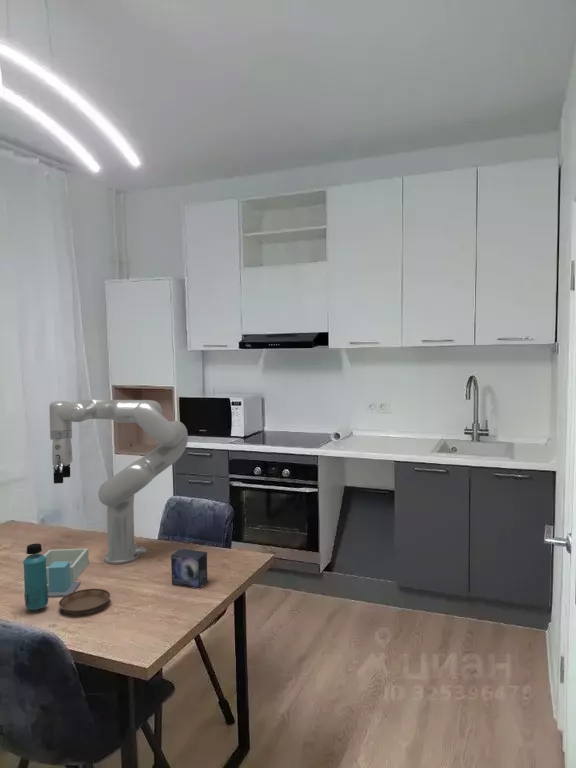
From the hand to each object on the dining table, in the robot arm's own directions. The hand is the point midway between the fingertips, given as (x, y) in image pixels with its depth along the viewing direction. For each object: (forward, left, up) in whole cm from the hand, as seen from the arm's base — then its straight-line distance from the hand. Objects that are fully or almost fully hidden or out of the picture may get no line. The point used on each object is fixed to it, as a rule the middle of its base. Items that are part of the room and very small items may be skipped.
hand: (62, 480), depth 208 cm
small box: (-49, +28, -30) cm, 64 cm away
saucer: (-19, +42, -30) cm, 55 cm away
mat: (-8, +29, -30) cm, 42 cm away
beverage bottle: (-5, +43, -30) cm, 53 cm away
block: (-8, +29, -29) cm, 42 cm away
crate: (-3, +15, -30) cm, 33 cm away
